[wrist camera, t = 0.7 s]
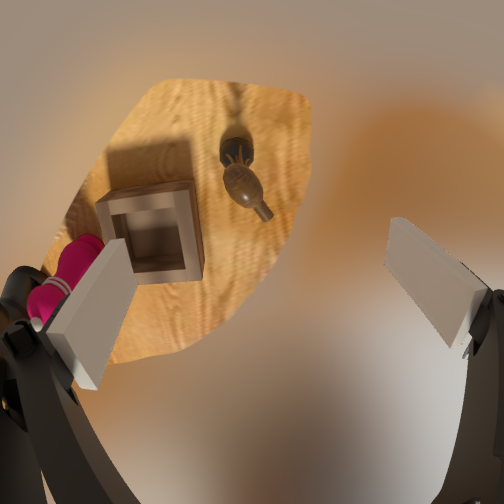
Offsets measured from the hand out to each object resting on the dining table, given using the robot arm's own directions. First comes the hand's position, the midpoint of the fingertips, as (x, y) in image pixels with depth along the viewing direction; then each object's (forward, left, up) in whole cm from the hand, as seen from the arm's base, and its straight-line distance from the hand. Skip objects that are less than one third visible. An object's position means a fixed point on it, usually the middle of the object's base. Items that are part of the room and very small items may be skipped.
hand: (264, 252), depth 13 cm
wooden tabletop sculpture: (0, 0, -28) cm, 29 cm away
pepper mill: (-26, -12, -28) cm, 40 cm away
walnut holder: (-13, -9, -28) cm, 32 cm away
